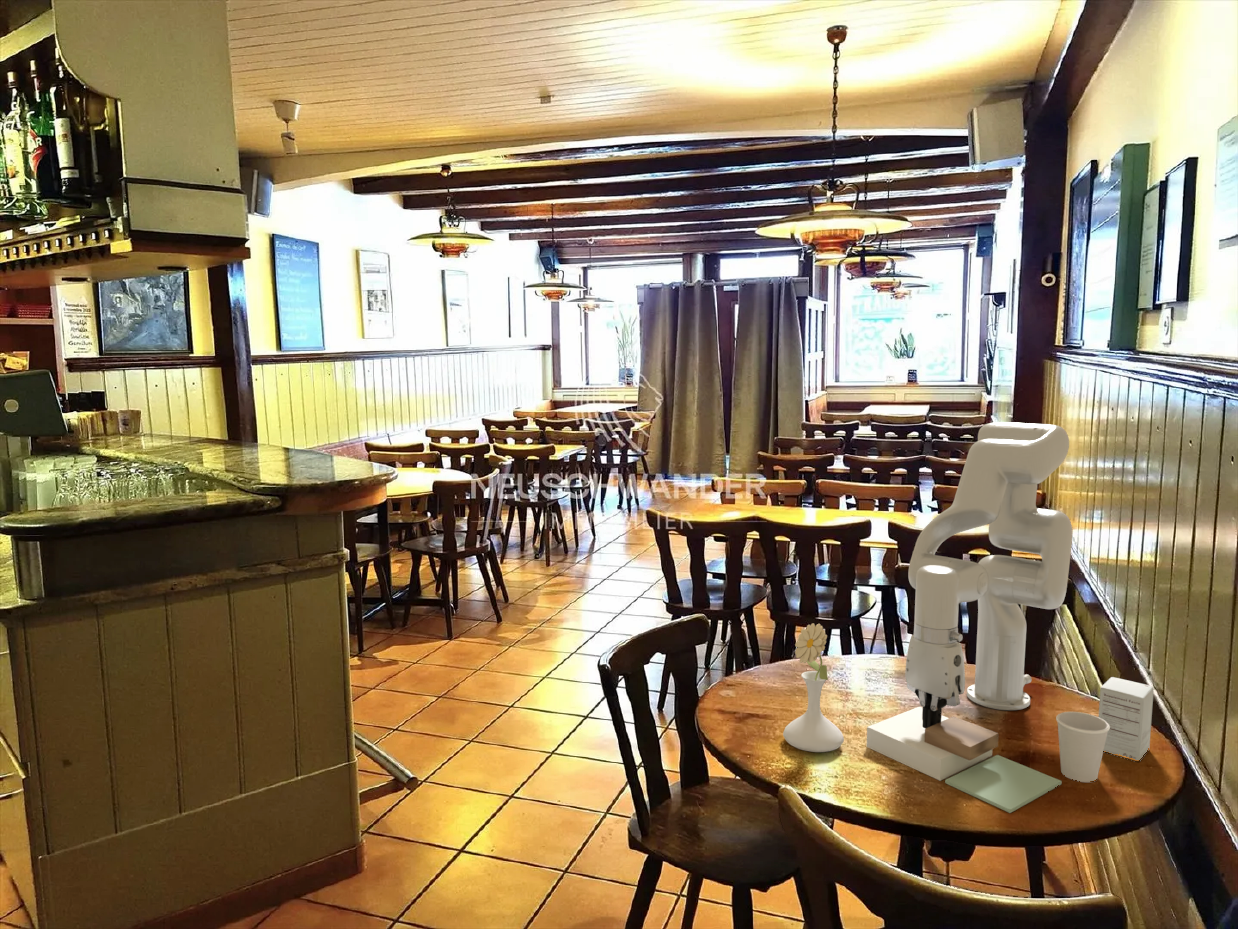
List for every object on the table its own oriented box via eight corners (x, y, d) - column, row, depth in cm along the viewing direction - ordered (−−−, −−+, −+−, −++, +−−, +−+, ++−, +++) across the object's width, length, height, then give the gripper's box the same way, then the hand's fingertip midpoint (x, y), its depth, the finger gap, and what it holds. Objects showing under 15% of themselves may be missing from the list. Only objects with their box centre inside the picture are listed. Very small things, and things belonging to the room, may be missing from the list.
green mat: (997, 757, 157) (997, 754, 157) (1061, 784, 148) (1061, 781, 148) (945, 783, 148) (945, 780, 148) (1010, 813, 139) (1010, 809, 139)
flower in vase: (779, 731, 169) (781, 609, 166) (837, 732, 169) (840, 610, 165) (788, 762, 156) (791, 631, 153) (851, 763, 156) (855, 632, 153)
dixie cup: (1087, 791, 145) (1091, 735, 144) (1042, 770, 153) (1045, 717, 151) (1116, 779, 149) (1120, 725, 148) (1071, 759, 157) (1074, 707, 155)
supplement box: (1106, 737, 165) (1111, 675, 164) (1150, 750, 160) (1155, 686, 158) (1094, 750, 160) (1099, 686, 159) (1139, 763, 155) (1144, 697, 153)
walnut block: (952, 729, 161) (953, 716, 160) (997, 746, 153) (998, 733, 153) (924, 742, 155) (925, 729, 155) (969, 760, 148) (970, 747, 148)
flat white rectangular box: (918, 725, 171) (919, 706, 171) (992, 755, 158) (993, 735, 158) (866, 746, 162) (867, 727, 162) (940, 780, 149) (941, 759, 149)
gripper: (984, 640, 153) (979, 737, 155) (914, 619, 165) (910, 709, 167) (959, 648, 149) (954, 747, 151) (889, 626, 161) (885, 718, 163)
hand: (931, 727), depth 159 cm, fingers closed
